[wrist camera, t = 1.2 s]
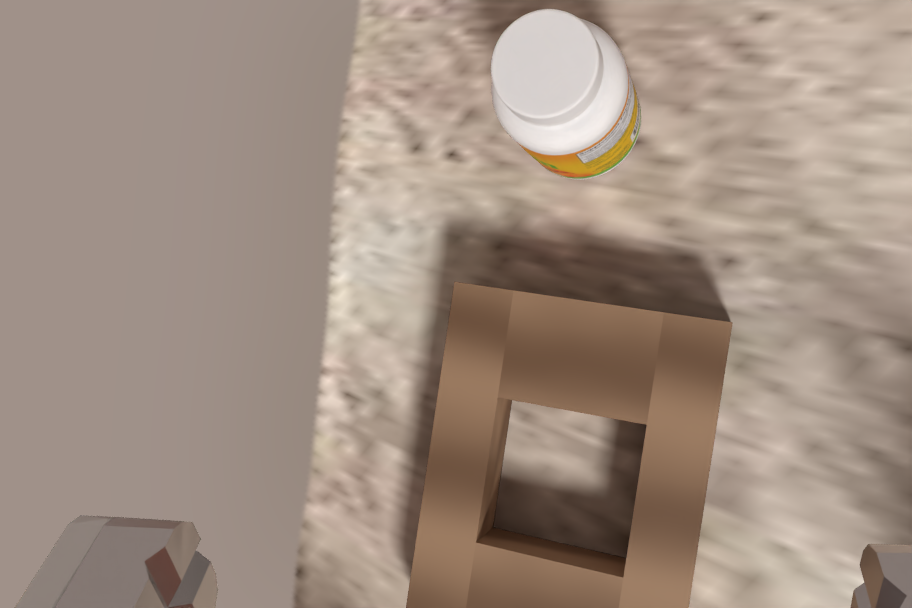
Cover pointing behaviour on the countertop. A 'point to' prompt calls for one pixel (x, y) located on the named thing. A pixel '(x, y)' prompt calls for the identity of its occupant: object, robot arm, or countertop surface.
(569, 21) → the supplement bottle
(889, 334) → the countertop surface
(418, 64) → the countertop surface
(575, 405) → the socket block
